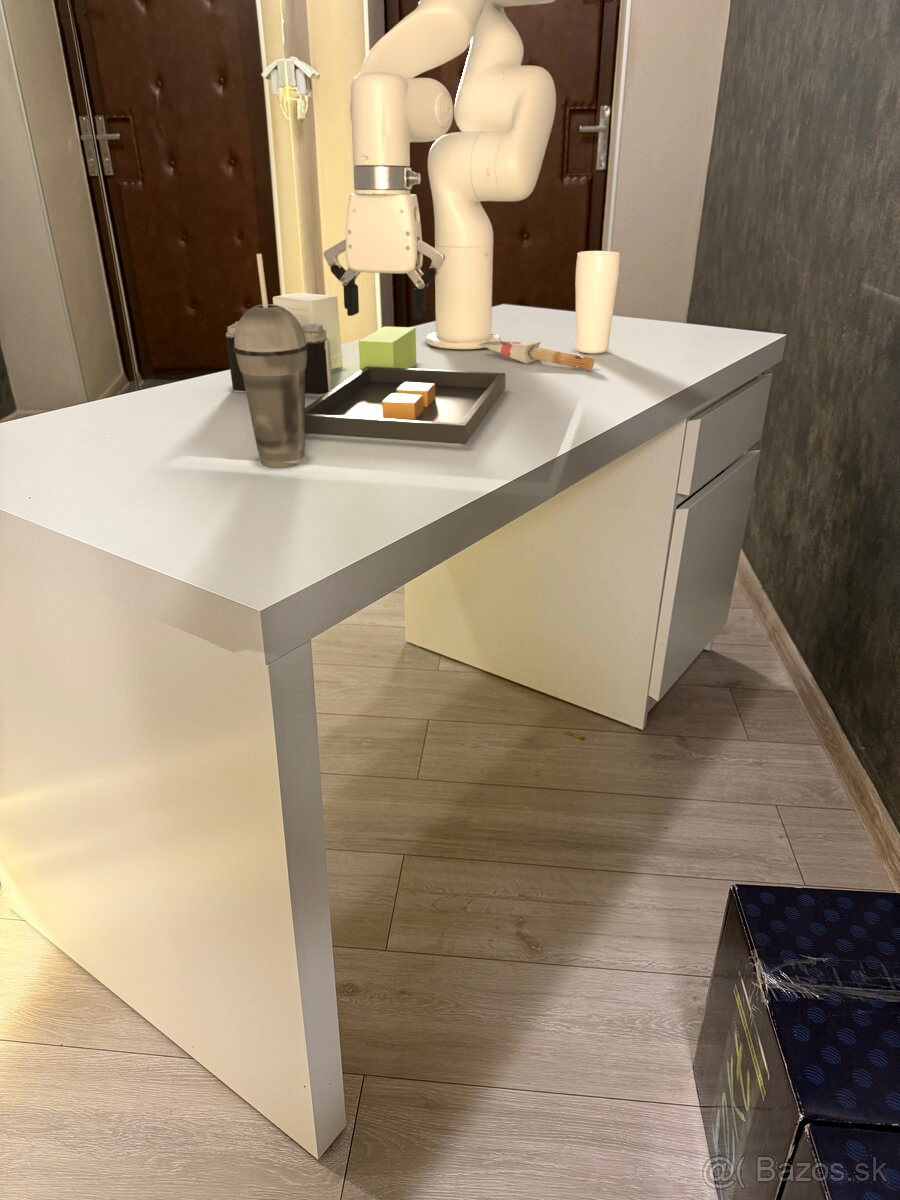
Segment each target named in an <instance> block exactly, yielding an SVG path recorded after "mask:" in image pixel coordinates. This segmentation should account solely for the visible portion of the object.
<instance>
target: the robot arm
mask: <svg viewBox="0 0 900 1200" xmlns="http://www.w3.org/2000/svg"><path fill="white" fill-rule="evenodd" d="M556 1H557V0H419V2H418V5H417V7H416V8H414V10H413V11H411V12H410V13H408V14H407V15H406V16H404V18H402V20H400V21H399V22H397V24H395V25H394V26H393V27H392V28H391V29H390V30H389V31H388V32H386V33H385V34H384V35H383V36H382V37H381V38H380V39H379V40H377V42H376V43H375V44H374V45H373V46H372V47H371V49H370V50H369V51H368V53H367V55H366V56H365V58H364V60H363V61H362V65H361V67H360V69H359V72H358V74H357V75H355V76H354V78H352V81H351V85H350V102H349V115H350V116H349V117H350V121H351V138H352V163H353V164H352V165H353V189H354V191H353V193H349V196H348V197H349V198H348V205H347V212H346V213H347V215H346V223H345V239H343V240H341V241H340V242H338V243H337V244H335V245H333V246H331V247H329V248H328V249H326V250H324V252H323V257H324V259H325V261H326V263H327V265H328V267H329V269H330V272H331V273H332V275H333V276H334V277H335V278H336V279H337V280H338V281H339V284H340V285H341V286H343V306H344V309H346V313H347V314H346V315H347V317H353V316H355V315H357V314H359V312H360V304H359V303H360V302H359V286H358V284H357V283H356V280H357V278H358V277H359V276H360V275H361V273H368V274H369V273H370V274H373V273H374V274H397V275H398V274H399V275H400V274H401V275H402V274H406V275H407V277H408V278H409V279H410V280H411V281H412V283H413V284H414V288H412V290H411V301H412V302H411V313H412V315H411V316H412V318H413V319H414V320H418V319H421V318H423V315H424V313H425V312H426V310H427V287H428V286H429V285H430V284H431V283H432V281H433V280H434V284H435V285H434V287H435V289H434V290H435V293H434V295H435V297H434V298H435V299H434V300H435V301H434V302H435V332H432V333H431V332H430V333H429V334H427V336H426V343H427V344H428V345H429V346H431V347H435V348H438V349H439V348H440V349H447V350H480V349H487V348H486V347H484V346H481V345H479V344H481V343H485V342H501V336H500V335H499V334H498V333H497V332H496V333H495V332H493V331H492V322H493V320H492V319H493V317H492V313H493V274H494V273H493V272H494V271H493V270H494V269H493V268H494V267H493V266H494V263H493V262H494V229H493V225H492V223H491V220H490V218H489V216H488V214H487V212H486V210H485V209H484V207H483V205H482V203H481V202H520V201H523V200H526V199H527V198H528V197H529V196H530V195H531V194H532V193H533V191H534V190H535V187H536V185H537V181H538V179H539V175H540V173H541V169H542V165H543V161H544V158H545V154H546V150H547V147H548V143H549V139H550V136H551V132H552V129H553V126H554V120H555V115H556V110H557V109H556V107H557V93H556V85H555V81H554V79H553V77H552V75H551V74H550V72H549V71H548V70H547V69H545V68H544V67H542V66H538V65H531V64H530V65H529V64H527V65H522V64H523V63H522V62H523V58H524V53H525V52H524V50H525V49H524V44H523V41H522V37H521V36H520V34H519V32H518V30H517V29H516V27H515V25H514V24H513V23H512V21H511V19H509V18H508V16H507V14H506V13H505V10H504V8H508V7H519V6H532V5H544V4H550V3H551V4H552V3H554V2H556ZM468 47H469V51H468V55H467V57H466V61H465V65H464V68H463V72H462V76H461V79H460V83H459V85H458V90H457V93H456V97H455V102H454V103H453V99H452V96H451V93H450V92H449V91H448V89H447V88H446V86H445V85H444V84H443V83H441V82H440V81H438V80H437V79H434V78H431V77H417V76H419V75H421V74H423V73H425V72H428V71H430V70H433V69H435V68H437V67H440V66H442V65H444V64H446V63H448V62H450V61H452V60H454V59H455V58H457V57H459V56H460V55H462V54H463V53H464V52H465V51H466V50H467V49H468ZM453 120H454V121H455V124H456V126H457V127H458V129H459V130H460V131H457V132H456V131H455V132H450V133H448V131H449V130H450V128H451V126H452V123H453ZM429 142H433V143H432V145H431V147H430V149H429V151H428V154H427V155H428V156H427V173H428V174H427V175H428V180H429V186H430V191H431V197H432V205H433V218H434V247H433V246H432V245H430V244H429V243H427V242H425V241H423V237H422V223H421V214H420V206H419V202H418V197H417V194H416V193H415V194H413V193H411V190H412V187H413V186H415V185H420V184H421V180H422V179H421V173H420V172H415V171H413V170H412V167H411V155H410V154H411V147H410V146H411V144H410V143H429ZM343 253H345V259H346V265H347V269H345V268H344V267H343V265H341V263H340V261H339V256H340V255H341V254H343ZM424 256H426V257H427V258H429V259H430V260H431V263H430V266H429V267H428V269H427V270H426V271H425V272H423V271H422V269H421V268H422V267H423V262H424Z"/></svg>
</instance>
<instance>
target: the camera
mask: <svg viewBox="0 0 900 1200" xmlns="http://www.w3.org/2000/svg"><path fill="white" fill-rule="evenodd" d="M238 322H239V320H237V321H235V322H234V323H231V325H228V326H227V327H226V330H227V332H226V333H225V338H226V345H227V346H226V347H227V353H228V361H229V369H230V377H231V385H232V391H233V392H237V393H246V390H245V385H244V380H243V375H242V372H241V371H240V368H239V365H238V362H237V357H236V353H235V352H234V350H233V349H234V345H235V343H234V337H235V331H236V327H237V324H238ZM302 329H303V331H304V334H305V337H306V343H307V344H308V349H307V364H306V369H305V394H309V395H324V394H326V393H328V392H329V391H331V390H332V389H334V388H333V375H332V369H331V359H330V345H329V340H327V337H326V329H323V325H321V324H306V325H303V326H302Z"/></svg>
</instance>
